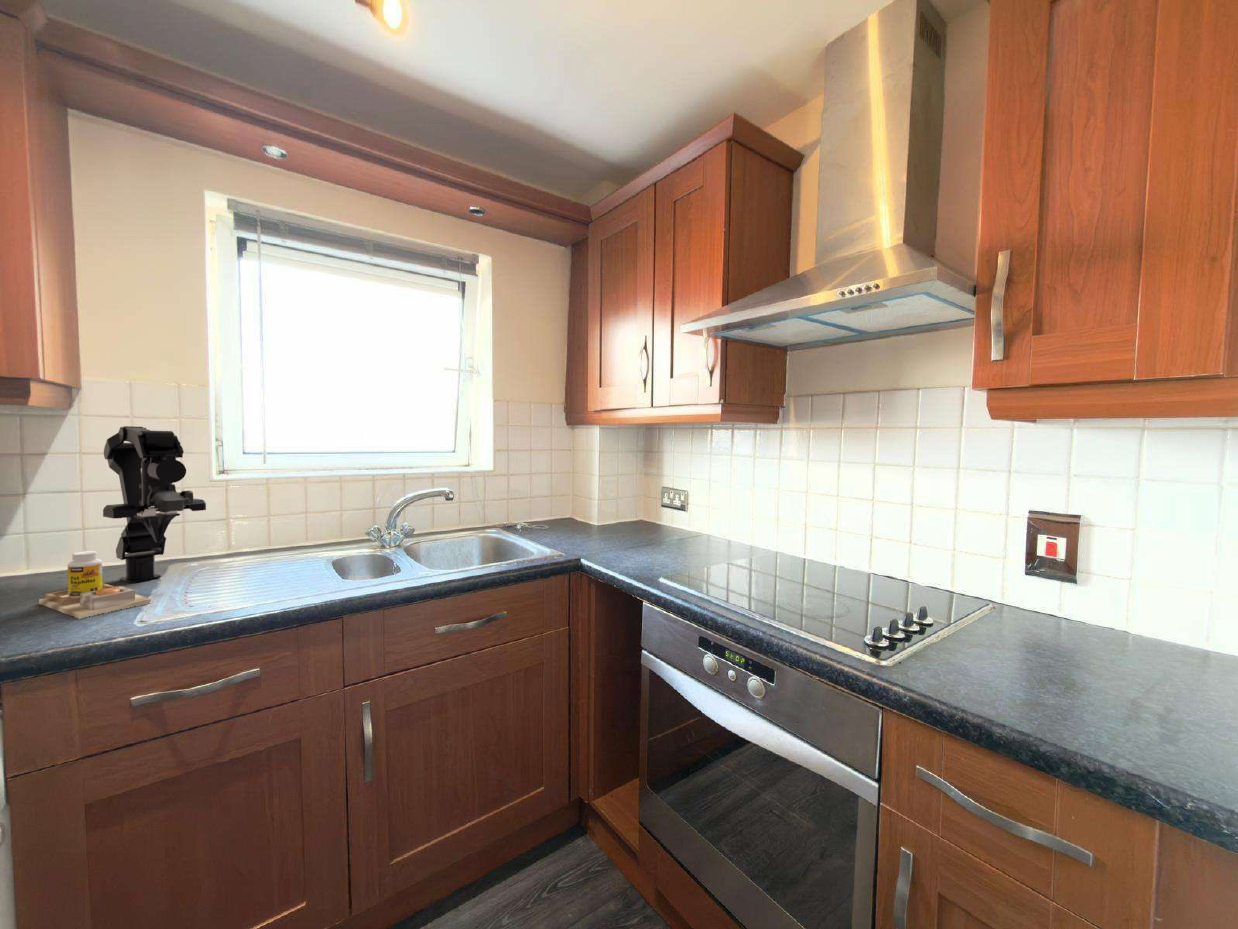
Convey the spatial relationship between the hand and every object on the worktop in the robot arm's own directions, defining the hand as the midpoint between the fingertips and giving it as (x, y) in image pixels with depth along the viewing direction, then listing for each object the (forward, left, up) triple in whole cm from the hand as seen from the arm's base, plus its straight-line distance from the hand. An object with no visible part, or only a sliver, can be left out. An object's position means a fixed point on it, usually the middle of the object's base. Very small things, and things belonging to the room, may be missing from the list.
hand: (157, 541), depth 128 cm
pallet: (+2, -12, -12) cm, 17 cm away
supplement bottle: (-3, -12, -11) cm, 17 cm away
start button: (+8, -13, -10) cm, 18 cm away
